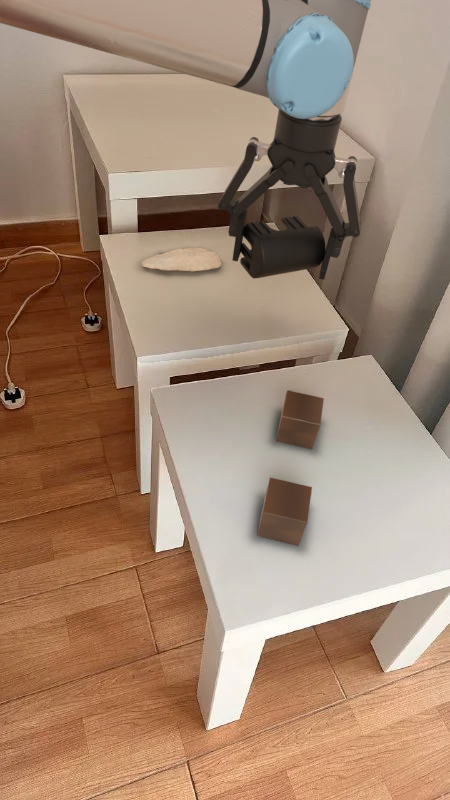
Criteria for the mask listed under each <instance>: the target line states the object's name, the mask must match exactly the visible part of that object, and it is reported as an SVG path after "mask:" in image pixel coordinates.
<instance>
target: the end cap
mask: <svg viewBox="0 0 450 800" xmlns="http://www.w3.org/2000/svg"><path fill="white" fill-rule="evenodd" d="M281 222H282V224H283V225H284V226H285V227H286V229H283V230H278V229H274V228H271V227H270V225H268V223H267V222H266V221H264V220H260V221H255V222H253V221H252V222H248V223H245V226H244V230H243V238H244V239H245V240H246V241H247V242H248V244H249V245H250V248H249V247H248V246H247V245H246V243H245V242H242V243H241V247H240V248H241V249H240V252H241V253H240V254H241V255H242V256H243V257H241V258H239V263H240V265H241V266H242V267H243V269H244V270H245V271H246V272H247V274H248V275H249V276H250V277H251V278H252V279H254V280H255V279H263V278H267V277H272V276H277V275H283V274H289V273H294V272H299V271H305V270H311V269H313V268H317V267H319V266H320V265H322V262H323V259H324V256H325V250H326V239H325V236H324V234H323V232H322V229H321V228H320V227H319V226H318V225H314V226H308V224H307V223H306V222H305V221H303V220H302V218H301V217H300V216H298V215H294V216H289V217H287V216H286V217H282V218H281Z"/></svg>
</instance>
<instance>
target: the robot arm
mask: <svg viewBox="0 0 450 800" xmlns="http://www.w3.org/2000/svg"><path fill="white" fill-rule="evenodd" d="M371 2H372V0H0V24H3V25H6V26H9V27H13V28H17V29H21V30H24V31H28V32H30V33H35V34H38V35H42V36H46V37H50V38H53V39H56V40H61V41H64V42H66V43H67V42H68V43H71V44H75V45H77V46H78V45H79V46H82V47H85V48H90V49H93V50H97V51H100V52H104V53H107V54H111V55H115V56H118V57H122V58H126V59H130V60H133V61H137V62H141V63H143V64H148V65H151V66H154V67H157V68H162V69H165V70H170V71H173V72H177V73H180V74H184V75H186V76H191V77H195V78H198V79H201V80H206V81H210V82H213V83H216V84H220V85H225V86H228V87H231V88H235V89H237V90H240V91H243V92H247V93H250V94H254V95H258V96H262V97H265V98H266V99H268V100H269V102H271V103H272V105H273V106H274V107H276V108H277V109H278V112H277V117H276V122H275V123H276V124H275V129H274V135H273V139H272V140H273V141H272V142H271V143H266V142H262V141H260V140H259V138H258V137H256V136H252V137H250V139H249V141H248V143H247V146H246V148H245V153H244V158H243V159H242V161H241V163H240V165H239V167H238V168H237V170H236V171H235V173H234V175H233V177H232V178H231V180H230V181H229V183H228V185H227V186H226V188H225V189H224V191H223V194H222V195H221V197H220V199H219V201H218V203H217V208H218V209H219V210H220V211H225V212H227V213H228V214H229V224H228V225H229V226H228V231H227V232H228V236H229V237H233V238H235V239H234V246H233V252H232V259H231V260H232V262H238V261H239V260H240V256H241V254H242V253H241V252H240V249H241V248H240V247H241V243H243V242H244V236H243V230H244V226H245V225H246V221H247V214H248V210H247V209H248V208H249V207H250V206H251V205H252V204H254V203H255V202H256V201H257V200H258V199H259V198H260V197H262V196H263V194H264V193H267V191H268V190H269V189H270V188H272V187H274V186H275V185H276V184H277V183H279V181H280V182H281V183H283V185H287V186H296V187H299V188H301V189H306V190H307V189H308V188H312V190H313V191H314V194H315V196H316V197H317V198H318V200H319V202H320V204H321V207H322V208H323V211H324V214H325V215H326V217H327V219H328V222H329V224H330V226H331V228H330V231H329V235H328V239H327V242H326V245H325V256H324V259H323V261H322V263H321V264H320V265H321V266H320V270H319V277H318V280H325V278H326V275H327V271H328V267H329V265H330V264H329V263H330V260H331V258H335V259H338V258H339V257H340V255H341V250H342V248H343V244H344V241H345V239H346V238H348V237H352V238H358V237H359V236H360V235H361V227H362V226H361V225H362V222H361V215H360V214H361V213H360V208H359V201H358V194H357V187H356V186H357V185H356V180H355V175H356V171H357V163H358V159H357V157H356V156H354V155H350V156H348V157H347V158H344V157H337V156H336V154H335V148H336V146H337V145H336V144H337V140H338V138H339V137H338V136H339V133H340V128H341V124H342V119H343V118H342V113H343V112H344V111H345V107H346V103H347V99H348V95H349V91H350V87H351V83H352V79H353V72H354V68H355V66H356V61H357V58H358V53H359V48H360V44H361V41H362V38H363V33H364V29H365V25H366V21H367V18H368V17H367V16H368V13H369V10H370V9H371V6H372V5H371ZM264 156H267V158H268V160H269V162H270V164H271V166H270V167H269V169H268V170H267V171H266V172H265V173H264V174H263V175H261V177H260V178H259V179H258V180H257V181H256V182H254V183H253V184H252V185H251V186H250V187H249V188H247V190H246V191H245V192H244V193H243V194H242V195H240V196H239V197H238V199H234V197H235V195H236V193H237V192H238V190H239V189H240V187H241V185H242V184H243V182H244V180H245V179H246V177H247V176H248V174H249V172H251V169H252V167H253V165H254V163H255V162H259V161H261V160H262V159H263V157H264ZM334 169H335V170H336V171H337V175H338V176H339V178H341V179H343V193H344V200H345V205H346V213H347V219H348V222H346V221H345V218H344V216H343V214H342V212H341V210H340V207H339V205H338V203H337V201H336V199H335V196H334V195H333V192H332V190H331V188H330V186H329V182H328V178H327V177H326V176H327V175H328V174H329V173H330V172H331V171H332V170H334Z"/></svg>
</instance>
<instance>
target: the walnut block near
mask: <svg viewBox="0 0 450 800" xmlns="http://www.w3.org/2000/svg"><path fill="white" fill-rule="evenodd" d="M312 491H313V486H309V485H305V484H300V483H296V482H292V481H287V480H283V479H279V478H275V477H269V480H268V483H267V487H266V491H265V494H264V495H265V496H264V499H263V503H262V508H261V513H260V518H259V523H258V528H257V533H256V536H257V537H260V538H264V539H268V540H273V541H277V542H281V543H285V544H288V545H289V544H290V545H293V546H297V547H298V546H299V547H300V544H301V541H302V538H303V536H304V533H305V531H306V527H307V524H308V520H309V513H310V507H311V506H310V505H311V498H312Z"/></svg>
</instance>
